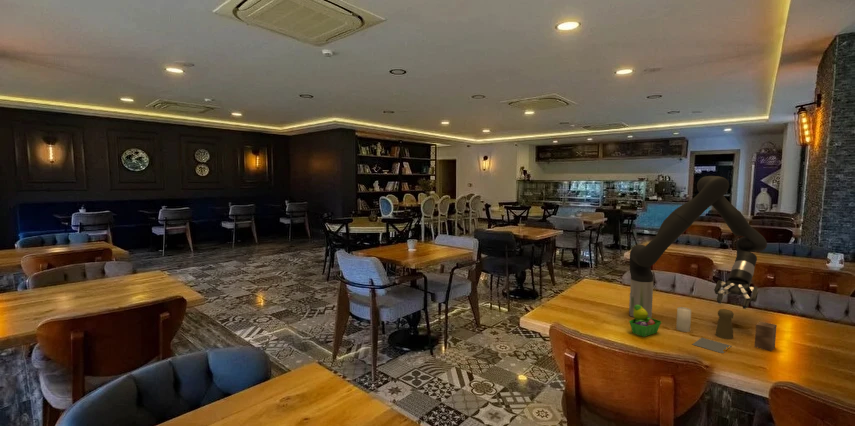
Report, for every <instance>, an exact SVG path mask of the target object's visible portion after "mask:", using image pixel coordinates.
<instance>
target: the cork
mask: <svg viewBox="0 0 855 426" xmlns="http://www.w3.org/2000/svg"><path fill="white" fill-rule="evenodd" d="M717 316H718V321H717V325H716V330H715V332H714V333H715V334H714V335H715V336H716V337H718V338H721V339H725V340H732V339H734V330H733V319H734V312H733V310H730V309H728V308H727V309H726V308H720V309H718V311H717Z"/></svg>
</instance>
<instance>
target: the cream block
mask: <svg viewBox="0 0 855 426" xmlns="http://www.w3.org/2000/svg"><path fill="white" fill-rule="evenodd" d="M676 310H677V311H676V324H675V325H676V328H675V329H676V330H677V331H679V332H685V333H686V332H687V333H688V332H689V333H690V332H691V323H692V322H691V320H692V309H690V308H689V307H686V306H685V307H683V306H679V307H677V308H676Z"/></svg>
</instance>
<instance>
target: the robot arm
mask: <svg viewBox="0 0 855 426" xmlns="http://www.w3.org/2000/svg"><path fill="white" fill-rule="evenodd" d="M696 183H697V184H696V189H697V192H698V193H697V194H696V195H695V196H694V197H693V198H691V199H690V200H687V202H685V203H683V204H682V205H680V206H678V207H677V208H675V209H674V210H673V211H672V212H671V213H669V215H668V216H667V217H666V218H665V219H664V220H663V222H661V225H660V227H659V229H658V231H657V233H656V234H655V236H654V237H653V238H652V239H651V240H650V242H648V243H647V244H646V245H645V244H637V245H634V246H633V247H632V248H631V250H630V253H629V273H630V289H629V290H630V293H629V304H628V307H629V308H628V313H629V316H630V317H633V318H634V315H633V312H634V306H635V305H640V306H642V307H643V308H644V309H645V310H646V311H647V313H648V316H647V317H650V318H653V316H652V315H653V299H654V298H653V296H654V295H653V294H654V274H653V272H652V266H653V265H655V264H656V262H657V261H659V259H660V258H661V257H662V255H663V254H664V253H665V252H666V250H667V249H668V248H670V246H672V244H673V243H674V242H676V240H677V239H678V238H680V236H682V235H683V234H684V233H685V232H686V231H687V230H688V229H689V228H690V227H691V226H692V225H693V224H694V223H695V221H697V220H698V218H700V217H701V216H702V215H703V213H704V212H705V211H706V210H708V208H710V207H711V206H712V207H713V208H714V210H715V211H716V212H717V213H718V214H719V216H720V217H721V218H722V219H723V221H724V222H725V224H726V225H727V227H728V229H730V231H731V233H732V234H733V235H734V236H738V237H739V238H738V239H737V241H736V243H735V247H736V257H735V260H734V263H733V264H732V267H731V269H730V273H729V276H728V278H727V281H726V282H725V281H722V280H720V279H719V280H717V282H716V285H715V287H714V289H713V291H714V294H715V295H717V297H716V302H717V303H718V304H719V305H720V304H721V303H722V301H723V298H724V296H725V295H728V294H732V295H738V296H741V295H742V296H743V298H744V300H743V303H742V308H743V310H746V309H748V308H749V306H750V302H753V303H754V302H755V303H756V302H757V300H758V294H759V288H758V286H750V285H751V283H752V279H753V276H754V273H755V268H756V264H757V261H758V256H757V255H756V254H755V253H753V252H761V251H764V250H766V249H767V247H768V242H767V240H766V238H765V237H764V236H763V235H762V234H761V233H760V232H759V231H758V230H757V229H755V228H754V227H752V226H751V225H750V223H749V222H748V220H747V219H746V218H745V216H744V215H743V214H742V213H741V211H740V210H739V209H738V208H736V207H735V206H734V205H733V204H732V203H731V202H730V201H729V200H728V199H727V198H726V197H725V194H727V192H728V190H729V187H730V183H729V181H728V179H727V178H725V177H723V176H719V175H718V176H717V175H716V176H715V175H708V176H702V177H701V178H700V179H699V180H698V181H697V182H696ZM724 286H725V287H724ZM722 287H723V288H722ZM749 291H751V293H752V295H751V296H749V294H748V293H747V292H749Z"/></svg>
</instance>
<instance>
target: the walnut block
mask: <svg viewBox="0 0 855 426" xmlns="http://www.w3.org/2000/svg"><path fill="white" fill-rule="evenodd" d="M776 337H777V324H774V323H770V322H766V321H758V322H757V323H756V324H755V334H754V348H757V347H758V348H757V349H760V348H761V350H764V349H765V351H769V352H772V351H773V350H774V349H775V348H776Z"/></svg>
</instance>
